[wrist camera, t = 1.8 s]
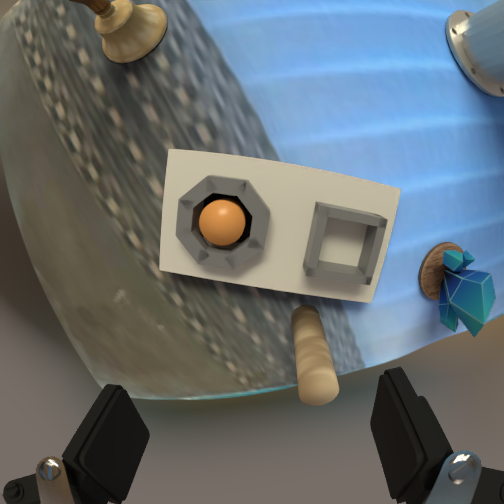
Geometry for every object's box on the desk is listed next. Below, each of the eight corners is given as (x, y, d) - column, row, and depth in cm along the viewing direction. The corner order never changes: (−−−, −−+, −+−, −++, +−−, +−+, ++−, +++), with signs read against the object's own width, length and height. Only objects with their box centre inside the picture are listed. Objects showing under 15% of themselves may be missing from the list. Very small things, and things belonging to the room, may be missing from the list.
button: (249, 201, 26) (247, 204, 24) (243, 242, 27) (241, 248, 25) (206, 195, 26) (201, 197, 24) (202, 236, 27) (197, 241, 25)
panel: (391, 186, 26) (412, 192, 22) (364, 292, 30) (378, 314, 25) (177, 149, 27) (158, 147, 22) (167, 261, 30) (150, 279, 26)
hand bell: (100, 24, 22) (18, -22, 7) (161, -5, 21) (99, -79, 6) (107, 75, 24) (8, 38, 9) (173, 44, 23) (98, -30, 8)
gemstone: (416, 309, 30) (463, 367, 19) (419, 241, 28) (482, 284, 16) (460, 297, 29) (512, 345, 18) (466, 233, 27) (531, 267, 16)
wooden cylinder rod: (322, 306, 31) (344, 379, 19) (315, 330, 32) (331, 406, 20) (294, 303, 31) (304, 377, 19) (288, 327, 32) (294, 404, 20)
